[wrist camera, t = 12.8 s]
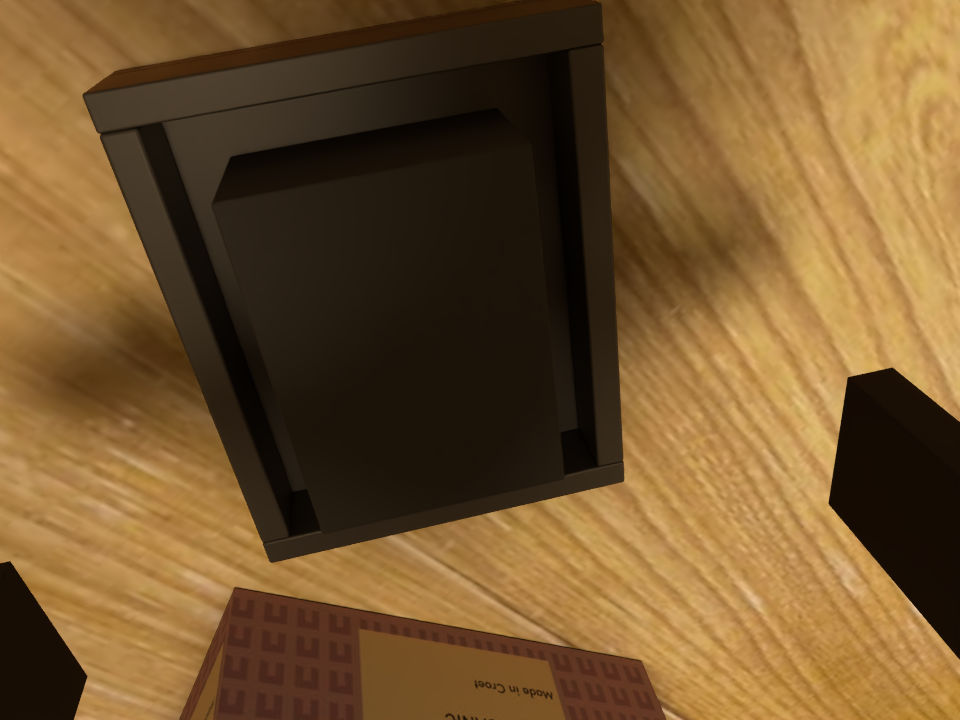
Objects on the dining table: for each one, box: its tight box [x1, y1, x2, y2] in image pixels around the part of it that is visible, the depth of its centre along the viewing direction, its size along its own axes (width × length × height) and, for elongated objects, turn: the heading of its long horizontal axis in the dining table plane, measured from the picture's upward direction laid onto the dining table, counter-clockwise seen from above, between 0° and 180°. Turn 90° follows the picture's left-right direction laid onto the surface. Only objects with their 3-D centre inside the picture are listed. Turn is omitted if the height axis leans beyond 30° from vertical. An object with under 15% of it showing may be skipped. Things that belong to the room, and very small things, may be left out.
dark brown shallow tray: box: [83, 0, 624, 563], centre depth 20 cm, size 13×11×3 cm
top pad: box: [211, 108, 565, 534], centre depth 19 cm, size 9×6×4 cm
